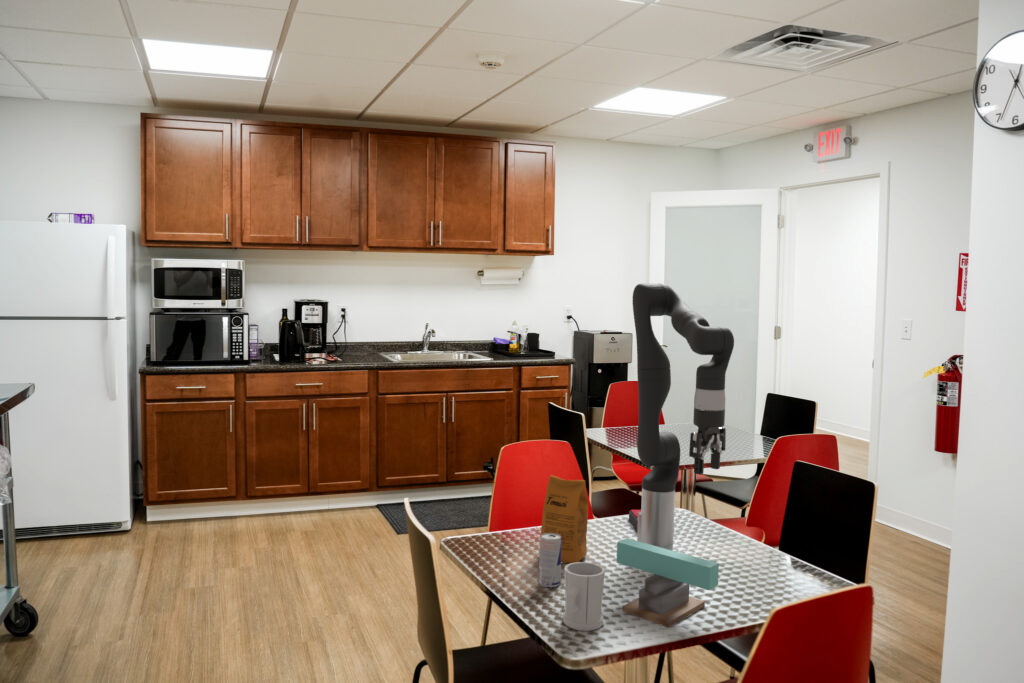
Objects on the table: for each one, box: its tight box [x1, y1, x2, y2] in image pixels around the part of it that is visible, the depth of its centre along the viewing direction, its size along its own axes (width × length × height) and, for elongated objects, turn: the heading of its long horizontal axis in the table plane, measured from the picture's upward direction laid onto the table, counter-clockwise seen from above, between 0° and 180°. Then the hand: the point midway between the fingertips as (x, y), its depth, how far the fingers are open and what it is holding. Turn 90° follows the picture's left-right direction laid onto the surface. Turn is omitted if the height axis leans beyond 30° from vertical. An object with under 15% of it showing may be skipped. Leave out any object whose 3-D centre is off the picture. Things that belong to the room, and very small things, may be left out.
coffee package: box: [540, 474, 589, 564], centre depth 209 cm, size 10×12×22 cm
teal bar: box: [616, 538, 720, 591], centre depth 175 cm, size 24×4×5 cm, turn 48°
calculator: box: [628, 509, 641, 532], centre depth 240 cm, size 11×4×15 cm
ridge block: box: [621, 574, 706, 628], centre depth 176 cm, size 12×16×8 cm
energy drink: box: [538, 533, 562, 589], centre depth 189 cm, size 5×5×12 cm
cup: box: [562, 561, 606, 632], centre depth 166 cm, size 10×9×12 cm
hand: (706, 471), depth 192 cm, fingers open, 8 cm apart
